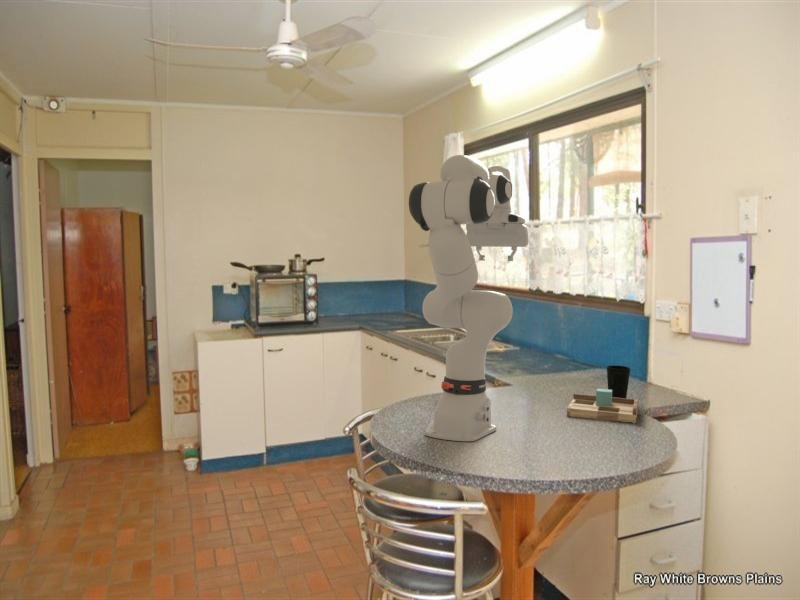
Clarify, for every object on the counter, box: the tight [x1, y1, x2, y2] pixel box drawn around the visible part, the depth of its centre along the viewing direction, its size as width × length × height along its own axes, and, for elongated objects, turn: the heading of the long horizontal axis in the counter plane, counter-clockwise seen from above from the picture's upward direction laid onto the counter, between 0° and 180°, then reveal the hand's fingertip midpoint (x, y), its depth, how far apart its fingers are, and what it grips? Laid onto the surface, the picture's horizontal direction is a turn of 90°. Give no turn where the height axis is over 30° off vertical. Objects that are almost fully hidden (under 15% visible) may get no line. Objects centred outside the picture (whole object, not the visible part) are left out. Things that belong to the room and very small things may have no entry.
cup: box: [606, 365, 631, 399], centre depth 215 cm, size 8×8×12 cm
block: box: [595, 388, 612, 406], centre depth 199 cm, size 4×4×4 cm
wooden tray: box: [566, 393, 639, 424], centre depth 197 cm, size 16×20×4 cm
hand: (496, 260), depth 203 cm, fingers open, 8 cm apart
